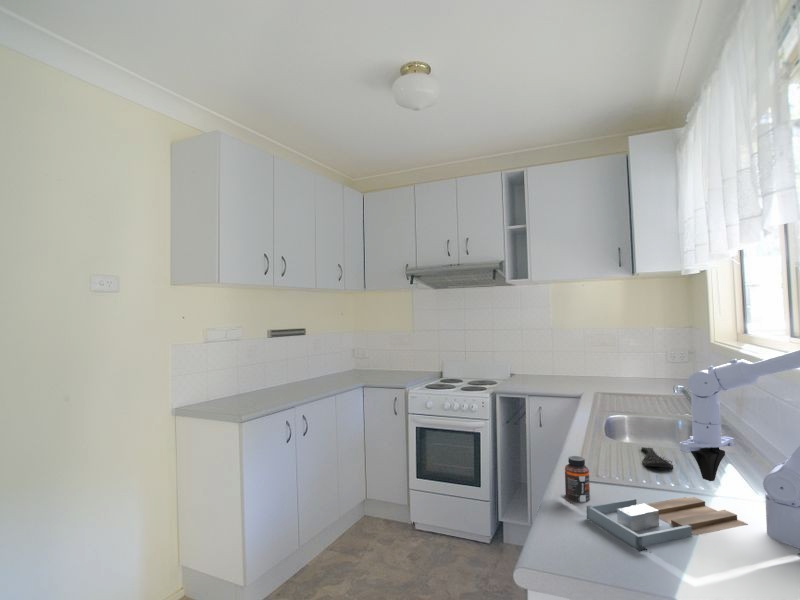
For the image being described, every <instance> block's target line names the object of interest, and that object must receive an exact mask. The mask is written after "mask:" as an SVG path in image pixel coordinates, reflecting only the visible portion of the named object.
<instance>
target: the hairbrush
mask: <svg viewBox="0 0 800 600" xmlns="http://www.w3.org/2000/svg"><path fill="white" fill-rule="evenodd" d="M641 450H642V451H645V452H646V453H647V454H645V456H644V458H643V459H642V460H641V461H642V465H643V466H644V467H653V468H655V467H656V468H669V469H674V465H673V461H672V460H670V459H668V458H666V457H665V458H664V455H663V454H661V455H659V453H658V454H657V452H655V451H654V448H653V447H641Z"/></svg>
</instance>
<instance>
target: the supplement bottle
mask: <svg viewBox="0 0 800 600" xmlns="http://www.w3.org/2000/svg"><path fill="white" fill-rule="evenodd" d="M585 460H586V459H585V458H584V457H583V456H579V455H578V456H577V455H570V456H568V460H567V461H568V462H567V463H568V464H565V466H564V480H565V482H564V484H565V486H564V488H565V490H564V491H565V499H566V502H568V503H569V502H570V503H569V504H571V503H572V502H575V503H580V504H581V503H587V502H589V501H590V499H591V492H590V469H589V467H588V466H586V465H585V464H586V461H585Z"/></svg>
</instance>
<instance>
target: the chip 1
mask: <svg viewBox="0 0 800 600" xmlns="http://www.w3.org/2000/svg"><path fill="white" fill-rule="evenodd" d="M616 513H617V515H616V516H617V522H618V523H620V524H622V525H623V526H625V527H627V528H628V529H630V530H632V531H634V532H637V531H644V530H646V529H647V528H646V524H645V513H643V512H641V511H639V510H637V509H635V508H634V507H632V506H631V507H625V508H619V509H617V511H616Z"/></svg>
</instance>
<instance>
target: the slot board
mask: <svg viewBox="0 0 800 600" xmlns="http://www.w3.org/2000/svg"><path fill="white" fill-rule="evenodd" d="M645 504H646V505H648V506H650V507H653V508H655V509H657V510H658V511H659V520H662V521H664V522H665V523H668V524H670V525H671V526H674V528H675V527H680V526H685V525H689V526H691V530H692V536H699V535H703V534H707V533H714V532H718V531H723V530H728V529H732V528H737V527H742V526H747V525H749V524H748V523H747V522H744V521H742V520H739V519H738V514H735V513H734V512H731V511H729V510H726V509H722V510H716V509H715V508H712V507H709V506H707V505H706V501H705V500H702V499H701V498H697V497H695V496H691V497H685V496H684V497H679V498H673V499H672V498H671V499H668V500H662V501H657V502H652V503H651V502H650V503H649V502H648V503H645Z"/></svg>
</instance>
